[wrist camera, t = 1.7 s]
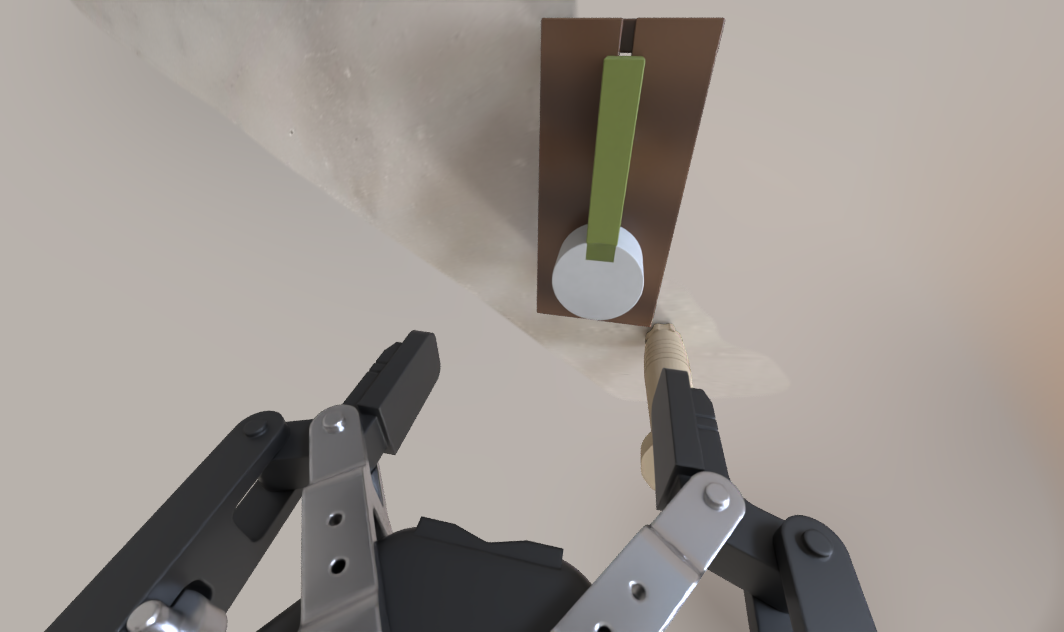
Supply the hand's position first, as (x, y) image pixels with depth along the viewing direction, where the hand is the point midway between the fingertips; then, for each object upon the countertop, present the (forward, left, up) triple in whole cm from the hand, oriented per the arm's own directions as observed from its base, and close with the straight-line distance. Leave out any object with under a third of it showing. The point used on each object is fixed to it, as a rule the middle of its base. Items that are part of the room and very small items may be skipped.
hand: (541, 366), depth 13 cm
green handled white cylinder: (-1, +1, -14) cm, 14 cm away
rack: (-1, +2, -22) cm, 22 cm away
